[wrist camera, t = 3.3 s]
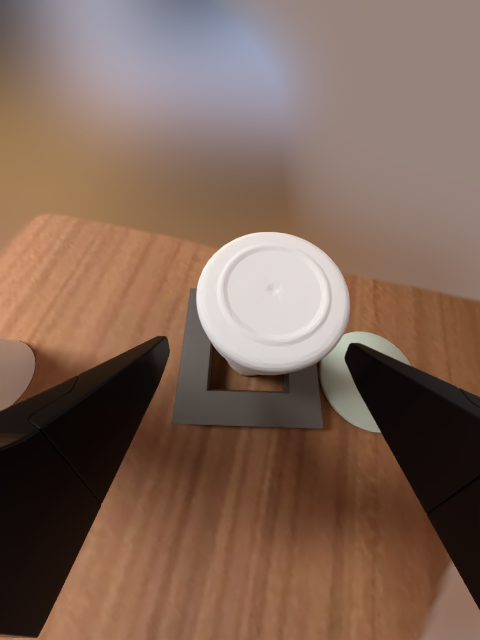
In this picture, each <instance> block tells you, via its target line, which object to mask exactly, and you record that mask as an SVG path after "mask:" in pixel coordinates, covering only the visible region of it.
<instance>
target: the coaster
mask: <svg viewBox="0 0 480 640" xmlns="http://www.w3.org/2000/svg"><path fill="white" fill-rule="evenodd" d="M350 343H361V344H363V345H365V346H368V347H370V348H372V349H374V350H377V351H379V352H381V353H383V354H385V355H388V356H390V357H392V358H394V359H396V360H399V361H401V362H403V363H405V364H407V365H410V366H411V364H410V363H409V361H408V360H407V358H406V357H405V355H404V354H403V353H402V352H401V351H400V350H399V349H398V348H397V347H396V346H395V345H393V344H392V343H391V342H389V341H388V340H386V339H384V338H382V337H380V336H378V335H375V334H372V333H368V332H351V333H347V334H344V335H343V336H342V338H341V340H340V341H339V343H338V344H337V346H336V347H335V348H334V349H333V350H332V351H331V352H330V353H329V354H328V355H327V356H326V357H324V358H323V359H322V360H320V363H319V379H320V384H321V387H322V390H323V393H324V395H325V397H326V399H327V401H328V402H329V404H330V405H331V407H332V408H333V409H334V410H335V411H336V412H337V413H338V414H339V415H340V416H341V417H342V418H343V419H345V420H346V421H347V422H349V423H351V424H353V425H354V426H357V427H359V428H362V429H364V430H367V431H371V432H377V433H381V431H380V429H379V428H378V426H377V424H376V422H375V420H374V419H373V417H372V415H371V413H370V411H369V410H368V408H367V406H366V404H365V402H364V401H363V399H362V397H361V395H360V393H359V392H358V390H357V388H356V385H355V383H354V381H353V379H352V376H351V374H350V372H349V369H348V367H347V365H346V362H345V359H344V357H345V354H346V351H347V348H348V346H349V344H350Z"/></svg>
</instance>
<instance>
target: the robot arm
mask: <svg viewBox="0 0 480 640" xmlns="http://www.w3.org/2000/svg"><path fill="white" fill-rule="evenodd" d="M169 353H170V349H169V344H168V339H167V337H166V336H157V337H155V338H153V339H151V340H149V341H146V342H144V343H142V344H140V345H138V346H136V347H134V348H132V349H130V350H128V351H126V352H124V353H122V354H120V355H118V356H116V357H114V358H112V359H110V360H108V361H106V362H104V363H102V364H100V365H98V366H96V367H94V368H92V369H90V370H88V371H85V372H83V373H81V374H80V375H79V376H75V377H73V378H71V379H69V380H67V381H65V382H63V383H61V384H59V385H57V386H55V387H52V388H50V389H48V390H46V391H44V392H42V393H39V394H37V395H35V396H33V397H31V398H28V399H26V400H24V401H22V402H19V403H17V404H15V405H13V406H10V407H8V408H6V409H3V410H1V411H0V637H13V638H37V637H38V636H39V634H40V632H41V630H42V628H43V626H44V624H45V622H46V620H47V618H48V616H49V614H50V612H51V610H52V608H53V606H54V604H55V602H56V600H57V597H58V595H59V593H60V591H61V589H62V587H63V585H64V583H65V581H66V579H67V576H68V574H69V572H70V570H71V568H72V566H73V564H74V562H75V560H76V558H77V555H78V553H79V551H80V549H81V547H82V545H83V543H84V541H85V539H86V537H87V534H88V532H89V530H90V528H91V526H92V524H93V522H94V520H95V518H96V516H97V513H98V511H99V509H100V507H101V503H102V502H103V500H104V498H105V496H106V494H107V492H108V490H109V488H110V486H111V484H112V482H113V479H114V477H115V475H116V473H117V471H118V469H119V467H120V465H121V463H122V461H123V458H124V456H125V454H126V452H127V450H128V448H129V446H130V444H131V442H132V440H133V437H134V435H135V433H136V431H137V429H138V427H139V425H140V423H141V421H142V419H143V416H144V414H145V412H146V410H147V408H148V406H149V404H150V402H151V400H152V398H153V395H154V393H155V391H156V389H157V387H158V385H159V383H160V380H161V377H162V374H163V372H164V369H165V366H166V363H167V360H168V357H169ZM344 359H345V362H346V365H347V367H348V369H349V372H350V374H351V376H352V379H353V381H354V383H355V385H356V388H357V390H358V392H359V393H360V395H361V397H362V399H363V401H364V402H365V404H366V406H367V408H368V410H369V411H370V413H371V415H372V417H373V419H374V420H375V422H376V424H377V426H378V428H379V429H380V431H381V433H382V435H383V437H384V438H385V440H386V442H387V444H388V446H389V447H390V449H391V451H392V453H393V455H394V456H395V458H396V460H397V462H398V464H399V465H400V467H401V469H402V471H403V473H404V474H405V476H406V478H407V480H408V482H409V483H410V485H411V487H412V489H413V491H414V492H415V494H416V496H417V498H418V500H419V501H420V503H421V505H422V507H423V509H424V510H425V512H426V513H427V516H428V518H429V520H430V521H431V523H432V525H433V527H434V529H435V530H436V532H437V534H438V536H439V538H440V539H441V541H442V543H443V545H444V547H445V548H446V550H447V552H448V554H449V556H450V557H451V559H452V561H453V563H454V565H455V567H456V568H457V570H458V572H459V574H460V576H461V577H462V579H463V581H464V583H465V584H466V586H467V588H468V590H469V592H470V594H471V595H472V597H473V599H474V601H475V603H476V604H477V606H478V608H479V610H480V397H478V396H476V395H474V394H471V393H469V392H467V391H465V390H463V389H460V388H457V387H456V386H454V385H452V384H449V383H447V382H445V381H443V380H441V379H438V378H436V377H434V376H432V375H429V374H427V373H425V372H423V371H421V370H418V369H416V368H414V367H412V366H410V365H407V364H405V363H403V362H401V361H399V360H396V359H394V358H392V357H390V356H388V355H385V354H383V353H381V352H379V351H377V350H374V349H372V348H370V347H368V346H365V345H363V344H361V343H350V344H349V346H348V348H347V351H346V354H345V357H344Z"/></svg>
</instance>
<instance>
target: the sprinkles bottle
mask: <svg viewBox="0 0 480 640" xmlns="http://www.w3.org/2000/svg"><path fill="white" fill-rule="evenodd" d="M196 304H197V311H198V315H199V319H200V322H201V324H202V327H203V329H204V331H205V333H206V334H207V336H208V338H209V340H210V341H211V343H212V344H213V346H214V347H215V349H216V350H217V351H218V352H219V353H220V354H221V355H222V356H223V357H224V358H225V359H226V360H227V362H228V364H229V365H230V367H231V368H232V369H233V370H234V371H235V372H236V373H238V374H240V375H244V376H254V375H258V374H259V375H279V374H286V373H291V372H295V371H298V370H302V369H304V368H307V367H309V366H312V365H314V364H315V363H317V362H319V361H320V360H322V359H323V358H324V357H326V356H327V355H328V354H329V353H330V352H331V351H332V350H333V349H334V348H335V347H336V346H337V344H338V343H339V341H340V340H341V338H342V336H343V334H344V332H345V330H346V327H347V324H348V320H349V315H350V298H349V292H348V288H347V285H346V282H345V280H344V278H343V276H342V274H341V272H340V270H339V269H338V267H337V266H336V264H335V263H334V262H333V261H332V260H331V258H330V257H328V255H326V254H325V253H324V252H323V251H322V250H320V249H319V248H318V247H316V246H315V245H313V244H311V243H310V242H308V241H306V240H304V239H301V238H299V237H296V236H292V235H289V234H284V233H278V232H261V233H253V234H248V235H245V236H242V237H240V238H237V239H235V240H233V241H231V242H229V243H228V244H226V245H225V246H223V247H222V248H221V249H219V250H218V251H217V252H216V253H215V254H214V255H213V256H212V257H211V259H210V260H209V261H208V263H207V264H206V266H205V267H204V269H203V271H202V274H201V276H200V279H199V282H198V286H197V293H196Z"/></svg>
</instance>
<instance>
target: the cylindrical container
mask: <svg viewBox="0 0 480 640" xmlns="http://www.w3.org/2000/svg"><path fill="white" fill-rule="evenodd" d="M34 370H35V357H34V354H33V352H32V350H31V348H30V347H29V346H28V345H27V344H25V343H23V342H21V341H18V340H13V339H7V338H1V337H0V411H1V410H3V409H6V408H8V407H9V406H11V405H12V404H13V403H14V402H15V401H16V400H17V399H18V398H19V397H20V396H21V395H22V394H23V393H24V391H25V390H26V389H27V387H28V385H29V383H30V382H31V380H32V377H33V374H34Z"/></svg>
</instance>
